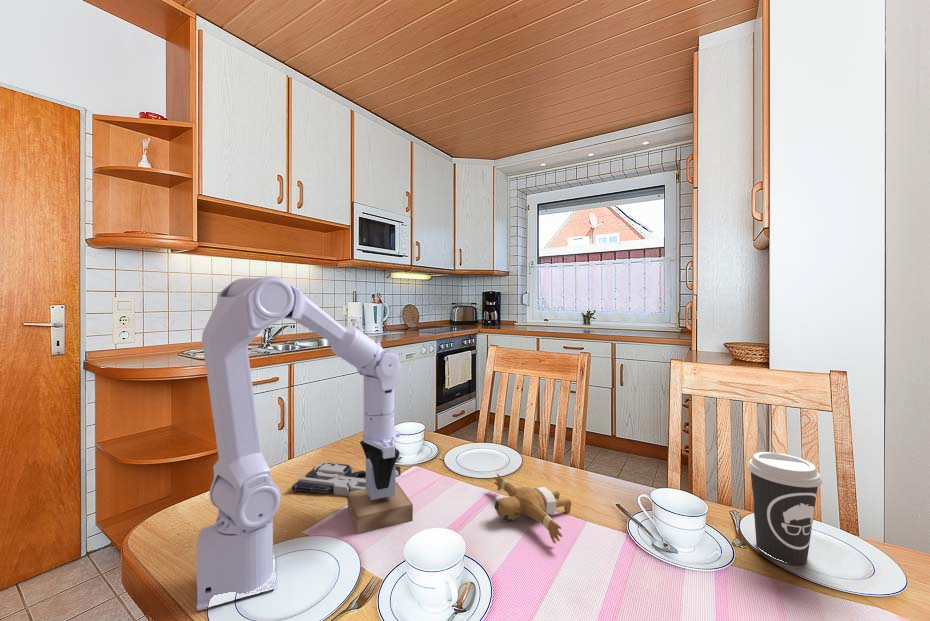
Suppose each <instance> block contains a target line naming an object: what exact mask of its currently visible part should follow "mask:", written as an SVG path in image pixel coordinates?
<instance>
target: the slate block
mask: <svg viewBox="0 0 930 621" xmlns="http://www.w3.org/2000/svg"><path fill="white" fill-rule="evenodd" d="M395 466H396V463H395V464H394V467H393V470H392V474H391V479H390V483H389V487H388V488H385V489H380V490H377V488H376V484H375V479H374V471H373V467H372V464H371V461H370V459H366V458H365V471H366V478H365V479H366V491H367V493H368V495H369V497H370V499H371V500H374V499H379V498H384V497H389V496H393V495H395V483H396V478H395Z"/></svg>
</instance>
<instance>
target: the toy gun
mask: <svg viewBox="0 0 930 621" xmlns="http://www.w3.org/2000/svg"><path fill="white" fill-rule="evenodd" d="M352 470H353V469H352V466H350V464H345V463H343V464H342V463H337V462H336V463H335V462H334V463H333V462H328V463H325V462H323V461H322V462H321V463H319V464H318V465H316V466H314V467H313V468H312V469H311V470H310V471H308V472H307V473H306V474H305V476H301V477H299V478H298V480H297V481H296V482H295V483H294V484H292V486H291V491H292V492H297V491H302V492H308V493H320V494H326V495H327V494H331V493H333V495H335V496H343V497H348V492H351V491H356V490H361V489H366V470H359V471H357V470H356V471H354V472H352ZM399 475H400V476H401V466H398V465H397V466H396V465H395V479H397V478H396V477H400V476H399Z"/></svg>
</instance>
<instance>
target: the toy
mask: <svg viewBox="0 0 930 621" xmlns="http://www.w3.org/2000/svg"><path fill="white" fill-rule="evenodd" d="M496 475H497V477H496V476H494V477H493V478H494V479H495V481H494V485H496V486H497V489H496V491H501V490H503V491H504V492H506V493H507V494H508V496H507V497H500V498H498V499H496V500H495V502H494V509H495V511H496V513H497V515H498V517H499V518H501V519H502V521H506V522H508V523H509V522H511V523H512V522H513V520H516V519H518V518H519V517H521V515H522V514H523V515H525V516H527V517H529V518H532V519H533V520H535V521H536V522H538V523H540V524H542V525H543V527H544V528H545V529H546V530H547V531H548V533H549V537H550V538H551V541H552V543H553V544H557V542H560V541H561V539H560V538H562V537H563V534H562V532H561V531H560V530H561V529H562V526H561V525H559V523H557V522H556V521H554V520H553V519H552V518H551V516H549V515H553V514H555V512H556V510H557V509H556V508H560V507H563V508H564V513H566V514H570V512H571V508H572V507H571V506H572V500H571V499H569V498H567V499H560V496H561V495H560V492H559V491H558V490H555V491H551V490H549V489H548V488H547V487H546V486H541V487H535V488H532V487H530V486H525V487H516V486H515V485H514V484H512V483H511V482H510V481H508V480H506V479H504V478H503V477H502V476H501V475H500V474H499V473H497V474H496ZM559 529H560V530H559ZM559 537H560V538H559Z"/></svg>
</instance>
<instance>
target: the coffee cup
mask: <svg viewBox="0 0 930 621" xmlns="http://www.w3.org/2000/svg"><path fill="white" fill-rule="evenodd" d="M746 469H748V471H749V472H750V478H751V492H752V503H753V506H752V507H753V513H754V514H753V515H754V516H753V517H754V528H755V529H754V531H755V541H756V542H755V543H756V544H755V545H756V547H757V546H758V547H759V548H760V549H761V550H763V551H764V552H766V553H767V554H769V555H771V556H772V557H774V558H776V559H779V560H782V561H784V562H787V563H790V564H789V565H791V564H793V566H800V565H805V564H806V563H807V562H808V557H809V550H810V549H809V548H810V544H811V536H812V530H813V529H812V528H813V522H814V513H815V508H816V500H817V495H818V494H817V493H818V487H820V486H822V485H823V480H822V477H821V475H820V473H819V472H818V471H817V468H816V465H814V464H813V463H812V462H810V461H809V460H806V459H803V458H800V457H797V456H794V455H790V454H787V453H782V452H781V453H780V452H772V451H760V452H756V453H753V455H752V458H751V459H749V461H748V463H747V466H746Z"/></svg>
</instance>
